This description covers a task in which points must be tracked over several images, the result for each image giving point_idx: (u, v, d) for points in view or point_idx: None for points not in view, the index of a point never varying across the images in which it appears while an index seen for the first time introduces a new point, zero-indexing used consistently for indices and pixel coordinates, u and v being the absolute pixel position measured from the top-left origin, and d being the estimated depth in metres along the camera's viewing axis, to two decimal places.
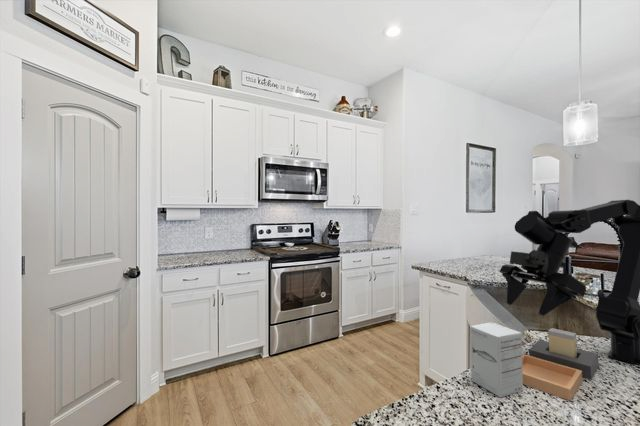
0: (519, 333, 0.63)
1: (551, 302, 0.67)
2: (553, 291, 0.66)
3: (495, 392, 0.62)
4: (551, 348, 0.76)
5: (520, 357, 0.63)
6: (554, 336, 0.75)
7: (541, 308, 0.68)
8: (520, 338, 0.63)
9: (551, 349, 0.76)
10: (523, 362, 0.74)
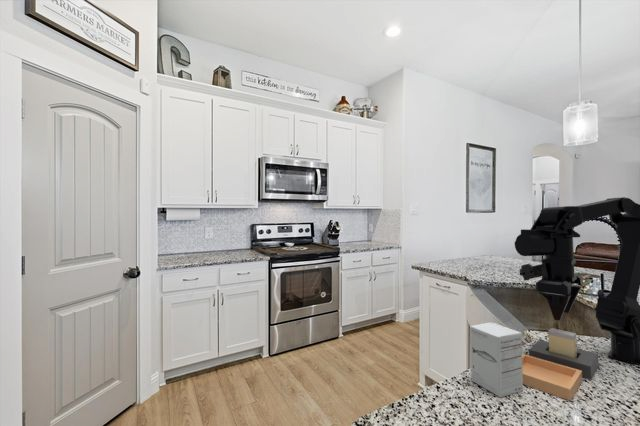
0: (519, 333, 0.63)
1: (554, 306, 0.72)
2: (545, 297, 0.73)
3: (495, 392, 0.62)
4: (551, 348, 0.76)
5: (520, 357, 0.63)
6: (554, 336, 0.75)
7: None
8: (520, 338, 0.63)
9: (551, 349, 0.76)
10: (523, 362, 0.74)
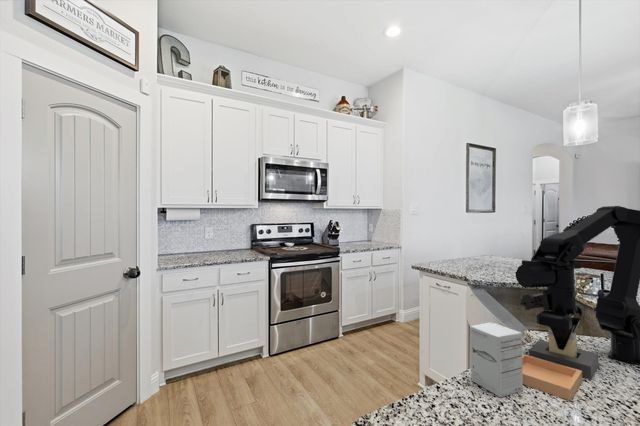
0: (519, 333, 0.63)
1: (558, 336, 0.74)
2: None
3: (495, 392, 0.62)
4: (551, 348, 0.76)
5: (520, 357, 0.63)
6: None
7: None
8: (520, 338, 0.63)
9: (551, 349, 0.76)
10: (523, 362, 0.74)
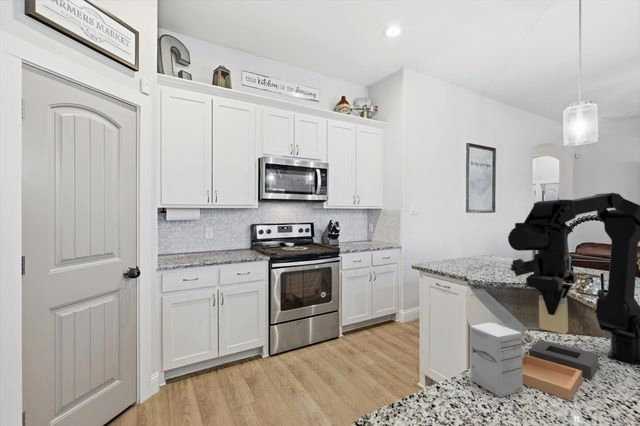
0: (519, 333, 0.63)
1: (548, 301, 0.71)
2: None
3: (495, 392, 0.62)
4: (541, 314, 0.74)
5: (520, 357, 0.63)
6: (544, 302, 0.73)
7: None
8: (520, 338, 0.63)
9: (541, 315, 0.74)
10: (523, 362, 0.74)
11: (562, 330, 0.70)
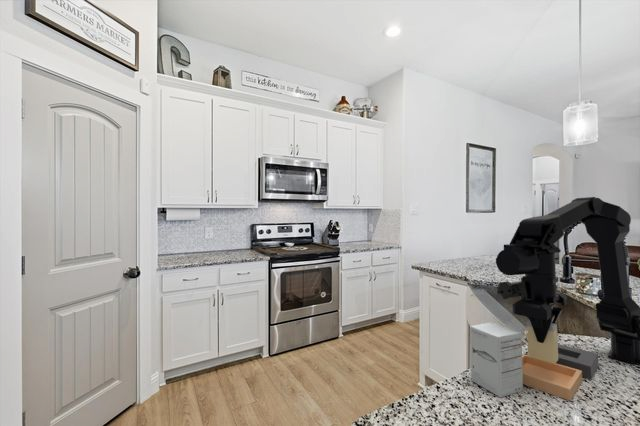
0: (519, 333, 0.63)
1: (537, 328, 0.66)
2: (528, 317, 0.67)
3: (495, 392, 0.62)
4: (530, 341, 0.68)
5: (520, 357, 0.63)
6: None
7: None
8: (520, 338, 0.63)
9: (530, 342, 0.68)
10: (523, 362, 0.74)
11: (552, 359, 0.65)
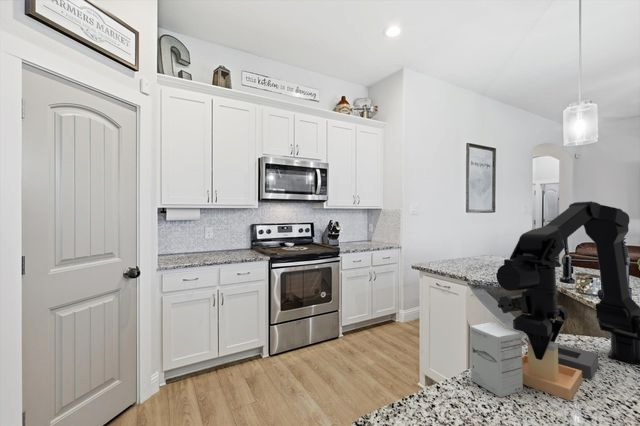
0: (519, 333, 0.63)
1: (536, 345, 0.65)
2: (526, 334, 0.66)
3: (495, 392, 0.62)
4: (530, 359, 0.68)
5: (520, 357, 0.63)
6: None
7: None
8: (520, 338, 0.63)
9: (530, 360, 0.68)
10: (523, 362, 0.74)
11: (553, 379, 0.65)
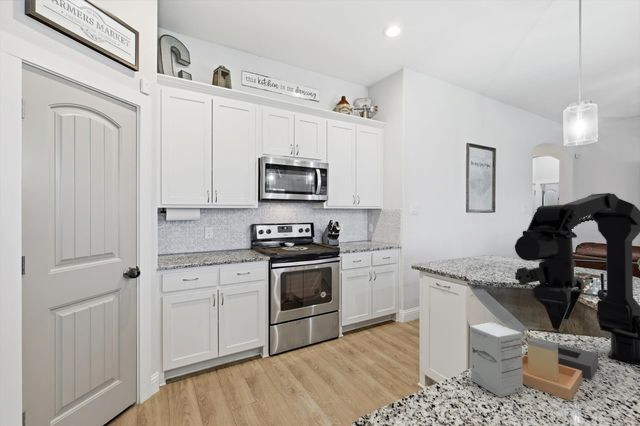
0: (519, 333, 0.63)
1: (553, 314, 0.66)
2: (543, 304, 0.67)
3: (495, 392, 0.62)
4: (530, 359, 0.68)
5: (520, 357, 0.63)
6: (533, 347, 0.68)
7: None
8: (520, 338, 0.63)
9: (530, 360, 0.68)
10: (523, 362, 0.74)
11: (553, 379, 0.65)
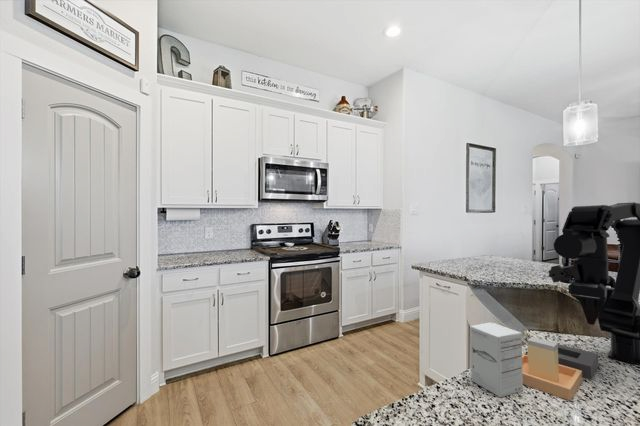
0: (519, 333, 0.63)
1: (588, 310, 0.69)
2: (578, 300, 0.69)
3: (495, 392, 0.62)
4: (530, 359, 0.68)
5: (520, 357, 0.63)
6: (533, 347, 0.68)
7: None
8: (520, 338, 0.63)
9: (530, 360, 0.68)
10: (523, 362, 0.74)
11: (553, 379, 0.65)
